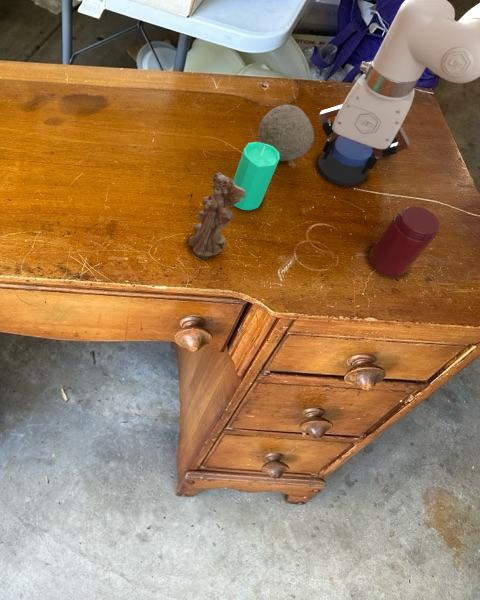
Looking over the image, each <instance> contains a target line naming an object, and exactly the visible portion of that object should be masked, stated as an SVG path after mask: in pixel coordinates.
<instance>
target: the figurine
mask: <svg viewBox="0 0 480 600" xmlns="http://www.w3.org/2000/svg"><path fill="white" fill-rule="evenodd" d="M233 180H234V178H230V176H226V175H224V174H223V173H221V172H220V171H219V172H217V173H214V174H213V176H212V180H211V182H212V184H213V190H212V192H213V193H211V194H210V195H208V196H204V197H203V201H202V205H203V209H201V210H199V211H198V212H197V214H198V216H197V220H198V221H199V222H197V223H195V224H194V225H193V231H194V235H191V236H189V237H188V243H189V244H188V245H189V246H191V250H192V252H193V253H194V255H196V256H197V257H199V258H202V259H208V258H212V257H213V256H216V255H217V254H219V253H223V249H224V248H225V247H226V242H225V241H226V238H225V236H224V235H222V233H221V232H220V231H222V230H224V229H225V228H226V227H227V226H228V224H229V223H230V222H231V221H233V220H234V213H233V212H232V211H231V210H230V209H232V208H233V207H235V206H234V205H235V204H236V203H239V202H240V201H241V198H244V197H245V196H246V193H245V192H246V191H245V190H244V189H243V188H240V187H238V186H237V185H235V182H233ZM227 207H228V208H227Z"/></svg>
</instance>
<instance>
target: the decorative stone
mask: <svg viewBox="0 0 480 600" xmlns="http://www.w3.org/2000/svg"><path fill="white" fill-rule="evenodd" d="M257 142H259V143H265V144H268V145H270V146H273V147H274V148H275V149H276V150H277V151H278V152H279V156H280V159H279V162H285V161H293V160H296V159H298V158H300V157H302V156H304V155H305V154H307V153H308V152H309V151H310V149H311V148H312V146H313V144H314V143H315V131H314V127H313V124H312V122H311V120H310V118H309V117H308V115H307V114H306V113H305V112H304V110H302V109H301V108H300V107H299V106H296V105H293V104H289V103H288V104H286V103H285V104H281V105H279V106H275V107H273V108H272V109H270V110H269V111H267V113H266V114H265V116H263V118H262V119H261V120H260V123H259V126H258V131H257Z"/></svg>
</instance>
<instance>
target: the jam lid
mask: <svg viewBox="0 0 480 600" xmlns="http://www.w3.org/2000/svg"><path fill="white" fill-rule="evenodd" d="M331 152H332V155H333V157H334V158H335V159H336V160H337V161H339V162H340V163H342V164H345V165H348V166H354V167H357V166H362V165H364V164H366V163H367V162H368V160H369V158H370V156H371V154H372V152H373V149H372V147H370V146H367V145H364V144H362V143H359V142H356V141H353V140H351V139H348V138H345V137H343V136H338V137H337V139H336V141H335V143H334V145H333V147H332V149H331Z"/></svg>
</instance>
